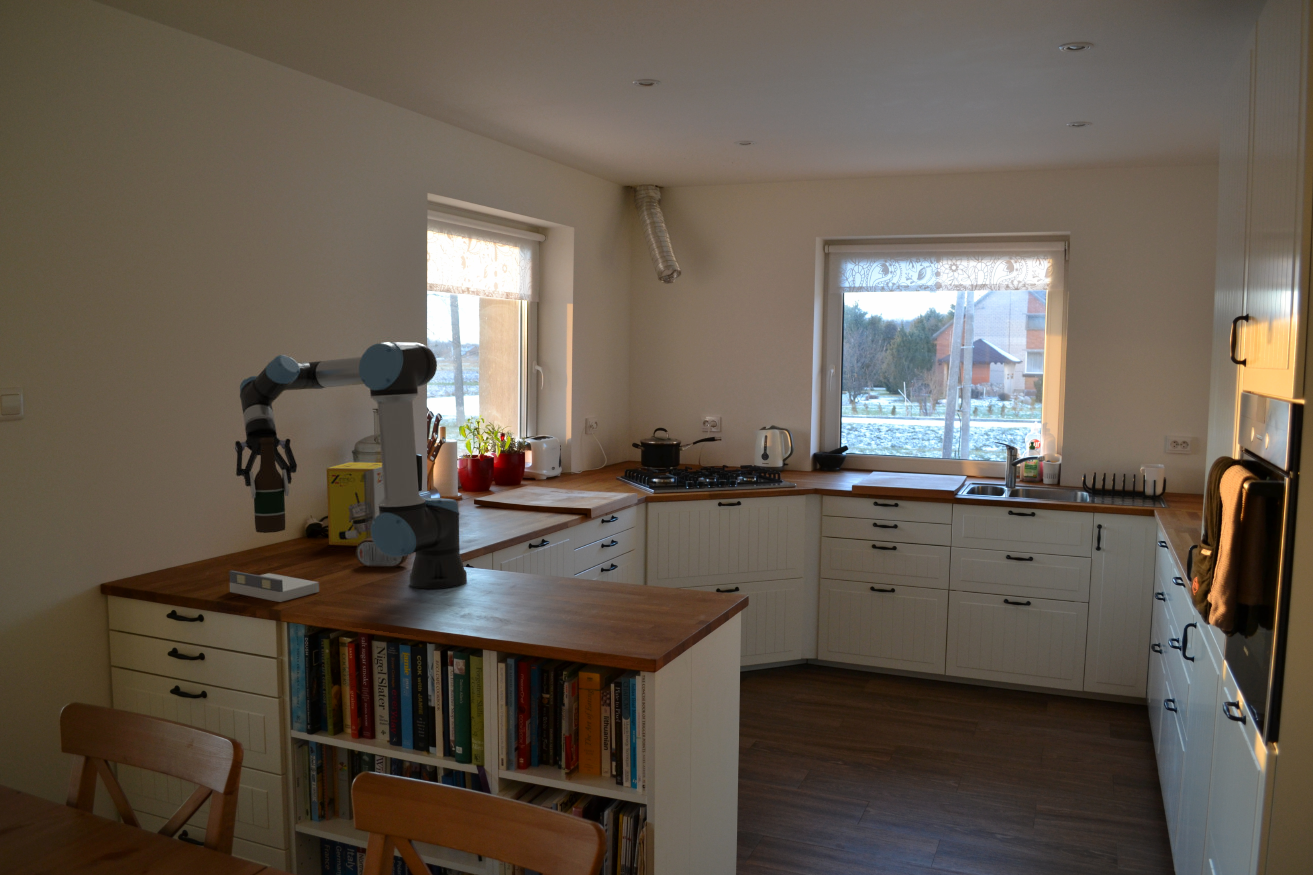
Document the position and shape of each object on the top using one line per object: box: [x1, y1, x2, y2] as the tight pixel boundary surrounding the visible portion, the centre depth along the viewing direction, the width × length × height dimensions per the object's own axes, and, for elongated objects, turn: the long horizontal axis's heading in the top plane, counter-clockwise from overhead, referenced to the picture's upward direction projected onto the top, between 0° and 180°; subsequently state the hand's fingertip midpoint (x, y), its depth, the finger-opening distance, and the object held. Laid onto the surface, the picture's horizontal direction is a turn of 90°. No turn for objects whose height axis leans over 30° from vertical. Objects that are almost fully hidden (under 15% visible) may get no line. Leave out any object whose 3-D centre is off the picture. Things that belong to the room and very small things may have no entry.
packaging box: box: [326, 461, 384, 547], centre depth 317 cm, size 16×16×25 cm
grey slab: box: [228, 570, 320, 603], centre depth 251 cm, size 20×12×6 cm, turn 59°
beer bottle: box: [253, 438, 286, 534], centre depth 249 cm, size 8×8×24 cm
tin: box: [355, 538, 409, 568], centre depth 280 cm, size 15×3×8 cm, turn 84°
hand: (270, 493), depth 246 cm, fingers closed on beer bottle, 7 cm apart
